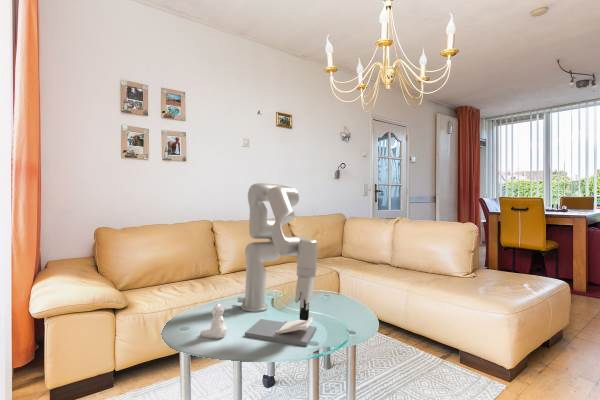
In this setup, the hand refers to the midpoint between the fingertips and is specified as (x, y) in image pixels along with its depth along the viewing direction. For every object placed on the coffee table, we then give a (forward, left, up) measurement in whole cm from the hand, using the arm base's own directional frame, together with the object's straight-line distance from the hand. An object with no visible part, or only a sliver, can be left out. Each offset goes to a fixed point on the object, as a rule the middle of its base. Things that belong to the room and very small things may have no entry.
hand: (304, 319), depth 126 cm
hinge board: (-9, 0, -7) cm, 11 cm away
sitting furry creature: (-31, -11, -7) cm, 33 cm away
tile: (-3, 0, -2) cm, 4 cm away
